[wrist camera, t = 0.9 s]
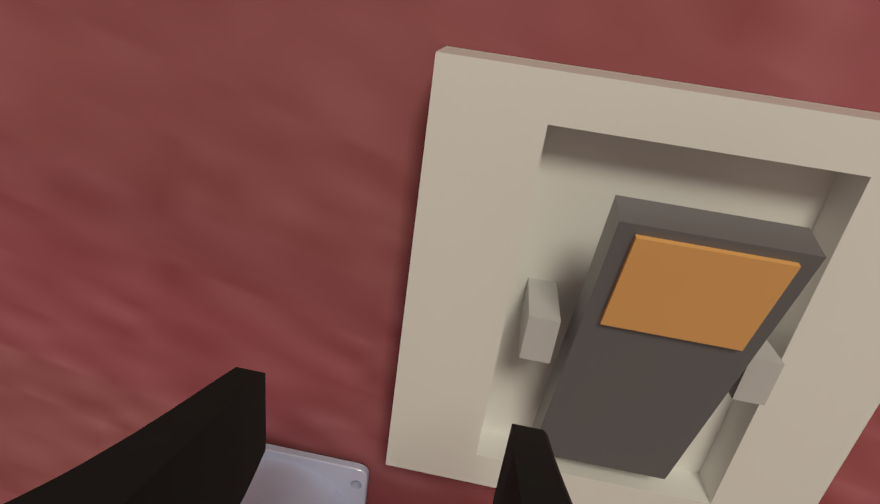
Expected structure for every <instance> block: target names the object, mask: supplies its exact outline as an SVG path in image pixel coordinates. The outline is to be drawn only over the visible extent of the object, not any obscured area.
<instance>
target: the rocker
mask: <svg viewBox="0 0 880 504" xmlns="http://www.w3.org/2000/svg"><path fill="white" fill-rule="evenodd" d="M825 259H826V255H825V254H824V252H823V250H822V249H821V247H820V245H819V243H818V242H817V240H816V238H815V236H814V235H813V233H812V231H811V230H810V228H807V227H801V226H795V225H789V224H784V223H778V222H772V221H766V220H760V219H754V218H748V217H743V216H737V215H731V214H725V213H719V212H713V211H707V210H702V209H696V208H690V207H684V206H678V205H672V204H666V203H660V202H655V201H649V200H643V199H637V198H631V197H625V196H619V195H615V198H614V201H613V204H612V206H611V209H610V212H609V215H608V217H607V220H606V223H605V226H604V228H603V231H602V234H601V237H600V240H599V242H598V245H597V248H596V251H595V253H594V256H593V259H592V262H591V264H590V267H589V270H588V273H587V276H586V278H585V281H584V284H583V287H582V289H581V292H580V295H579V298H578V300H577V303H576V306H575V309H574V312H573V314H572V317H571V320H570V323H569V325H568V328H567V331H566V334H565V337H564V339H563V342H562V345H561V348H560V350H559V353H558V356H557V359H556V361H555V364H554V367H553V370H552V373H551V375H550V378H549V381H548V384H547V386H546V389H545V392H544V395H543V397H542V400H541V403H540V406H539V409H538V411H537V414H536V417H535V420H534V422H533V428H537V429H542V430H544V431H545V432H546V434H547V435H548V437H549V441H550V444H551V447H552V450H553V453H554V456H555V457H560V458H564V459H569V460H574V461H579V462H584V463H589V464H593V465H598V466H603V467H608V468H613V469H618V470H622V471H627V472H632V473H637V474H642V475H647V476H651V477H656V478H661V479H665V478H666V477H667V476H668V474H669V473H670V472H671V470H672V469H673V467H674V466H675V465H676V463H677V462H678V461H679V459H680V458H681V456H682V455H683V454H684V452H685V451H686V450H687V448H688V447H689V445H690V444H691V443H692V441H693V440H694V439H695V437H696V436H697V434H698V433H699V432H700V430H701V429H702V428H703V426H704V425H705V424H706V422H707V421H708V419H709V418H710V417H711V415H712V414H713V413H714V411H715V410H716V408H717V407H718V406H719V404H720V403H721V402H722V400H723V399H724V397H725V396H726V395H727V393H728V392H729V391H730V389H731V388H732V386H733V385H734V384H735V382H736V381H737V380H738V378H739V377H740V375H741V374H742V373H743V371H744V370H745V369H746V367H747V366H748V364H749V363H750V362H751V360H752V359H753V358H754V356H755V355H756V354H757V352H758V351H759V349H760V348H761V347H762V345H763V344H764V343H765V341H766V340H767V338H768V337H769V336H770V334H771V333H772V332H773V330H774V329H775V327H776V326H777V325H778V323H779V322H780V321H781V319H782V318H783V316H784V315H785V314H786V312H787V311H788V310H789V308H790V307H791V305H792V304H793V303H794V301H795V300H796V299H797V297H798V296H799V295H800V293H801V292H802V290H803V289H804V288H805V286H806V285H807V284H808V282H809V281H810V279H811V278H812V277H813V275H814V274H815V273H816V271H817V270H818V268H819V267H820V266H821V264H822V263H823V262H824V260H825Z"/></svg>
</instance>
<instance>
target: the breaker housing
mask: <svg viewBox="0 0 880 504" xmlns="http://www.w3.org/2000/svg"><path fill="white" fill-rule="evenodd" d="M615 195H619V196H625V197H631V198H637V199H643V200H649V201H655V202H660V203H666V204H672V205H678V206H684V207H690V208H696V209H702V210H707V211H713V212H719V213H725V214H731V215H737V216H743V217H748V218H754V219H760V220H766V221H772V222H778V223H784V224H789V225H795V226H801V227H807V228H810V230H811V231H812V233H813V235H814V236H815V238H816V240H817V242H818V243H819V245H820V247H821V249H822V250H823V252H824V254H825V255H826V259H825V260H824V262H823V263H822V264H821V266H820V267H819V268H818V270H817V271H816V273H815V274H814V275H813V277H812V278H811V279H810V281H809V282H808V284H807V285H806V286H805V288H804V289H803V290H802V292H801V293H800V295H799V296H798V297H797V299H796V300H795V301H794V303H793V304H792V305H791V307H790V308H789V310H788V311H787V312H786V314H785V315H784V316H783V318H782V319H781V321H780V322H779V323H778V325H777V326H776V327H775V329H774V330H773V332H772V333H771V334H770V336H769V337H768V338H767V340H766V341H765V343H764V344H763V345H762V347H761V348H760V349H759V351H758V352H757V354H756V355H755V356H754V358H753V359H752V360H751V362H750V363H749V364H748V366H747V367H746V369H745V370H744V371H743V373H742V374H741V375H740V377H739V378H738V380H737V381H736V382H735V384H734V385H733V386H732V388H731V389H730V391H729V392H728V393H727V395H726V396H725V397H724V399H723V400H722V402H721V403H720V404H719V406H718V407H717V408H716V410H715V411H714V413H713V414H712V415H711V417H710V418H709V419H708V421H707V422H706V424H705V425H704V426H703V428H702V429H701V430H700V432H699V433H698V434H697V436H696V437H695V439H694V440H693V441H692V443H691V444H690V445H689V447H688V448H687V450H686V451H685V452H684V454H683V455H682V456H681V458H680V459H679V461H678V462H677V463H676V465H675V466H674V467H673V469H672V470H671V472H670V473H669V474H668V476H667V477H666V478H665V479H661V478H656V477H651V476H647V475H642V474H637V473H632V472H627V471H622V470H618V469H613V468H608V467H603V466H598V465H593V464H589V463H584V462H579V461H574V460H569V459H564V458H560V457H555V459H556V462H557V465H558V468H559V470H560V473H561V476H562V478H563V481H564V483H565V486H566V488H567V491H568V493H569V496H570V498H571V501H572V503H573V504H818V503H819V501H820V499H821V498H822V496H823V495H824V493H825V491H826V490H827V488H828V486H829V485H830V483H831V481H832V480H833V478H834V477H835V475H836V473H837V472H838V470H839V468H840V467H841V465H842V464H843V462H844V460H845V459H846V457H847V455H848V454H849V452H850V450H851V449H852V447H853V446H854V444H855V442H856V441H857V439H858V437H859V436H860V434H861V433H862V431H863V429H864V428H865V426H866V424H867V423H868V421H869V419H870V418H871V416H872V415H873V413H874V411H875V410H876V408H877V406H878V405H879V403H880V113H878V112H871V111H865V110H859V109H852V108H846V107H839V106H833V105H826V104H820V103H813V102H807V101H800V100H794V99H787V98H781V97H774V96H768V95H761V94H755V93H748V92H742V91H735V90H729V89H722V88H716V87H709V86H703V85H696V84H690V83H683V82H677V81H670V80H664V79H657V78H651V77H644V76H638V75H631V74H625V73H618V72H612V71H605V70H599V69H592V68H586V67H579V66H573V65H566V64H560V63H554V62H547V61H541V60H534V59H528V58H521V57H515V56H508V55H502V54H495V53H489V52H482V51H476V50H469V49H463V48H456V47H450V46H446V47H444V48H442V49H440V50H438V51H436V55H435V63H434V71H433V79H432V87H431V96H430V104H429V112H428V120H427V128H426V137H425V145H424V153H423V161H422V170H421V178H420V186H419V194H418V202H417V211H416V219H415V227H414V235H413V243H412V252H411V260H410V268H409V276H408V285H407V293H406V301H405V309H404V317H403V326H402V334H401V342H400V350H399V358H398V367H397V375H396V383H395V391H394V399H393V408H392V416H391V424H390V432H389V441H388V449H387V457H386V465H390V466H395V467H400V468H404V469H409V470H414V471H419V472H423V473H428V474H433V475H437V476H442V477H447V478H451V479H456V480H461V481H465V482H470V483H475V484H480V485H484V486H489V487H494V488H496V487H497V483H498V478H499V474H500V470H501V466H502V462H503V458H504V454H505V450H506V446H507V442H508V438H509V434H510V430H511V426H512V424H517V425H522V426H527V427H532V428H533V422H534V420H535V417H536V414H537V411H538V409H539V406H540V403H541V400H542V397H543V395H544V392H545V389H546V386H547V384H548V381H549V378H550V375H551V373H552V370H553V367H554V364H555V361H556V359H557V356H558V353H559V350H560V348H561V345H562V342H563V339H564V337H565V334H566V331H567V328H568V325H569V323H570V320H571V317H572V314H573V312H574V309H575V306H576V303H577V300H578V298H579V295H580V292H581V289H582V287H583V284H584V281H585V278H586V276H587V273H588V270H589V267H590V264H591V262H592V259H593V256H594V253H595V251H596V248H597V245H598V242H599V240H600V237H601V234H602V231H603V228H604V226H605V223H606V220H607V217H608V215H609V212H610V209H611V206H612V204H613V201H614V198H615Z"/></svg>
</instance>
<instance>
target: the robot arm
mask: <svg viewBox="0 0 880 504" xmlns="http://www.w3.org/2000/svg"><path fill="white" fill-rule="evenodd" d="M368 480H369V470H368V468H367V467H366V466H364V465H363V464H360V463H356V462H351V461H346V460H342V459H337V458H332V457H328V456H323V455H318V454H314V453H309V452H304V451H300V450H295V449H290V448H286V447H281V446H276V445H272V444H267V443H266V413H265V373H262V372H258V371H253V370H248V369H243V368H238V367H236V368H234V369H232V370H231V371H229V372H228V373H226V374H225V375H223V376H222V377H220V378H218V379H217V380H215V381H214V382H212V383H211V384H209V385H208V386H206V387H205V388H203V389H202V390H200V391H199V392H197V393H196V394H194V395H193V396H191V397H190V398H188V399H187V400H185V401H184V402H182V403H181V404H179V405H178V406H176V407H175V408H173V409H171V410H170V411H168V412H167V413H165V414H164V415H162V416H160V417H159V418H157V419H156V420H154V421H153V422H151V423H149V424H148V425H146V426H145V427H143V428H142V429H140V430H138V431H137V432H135V433H134V434H132V435H130V436H129V437H127V438H125V439H124V440H122V441H120V442H118V443H117V444H115V445H113V446H112V447H110V448H108V449H106V450H105V451H103V452H101V453H100V454H98V455H96V456H95V457H93V458H91V459H89V460H88V461H86V462H84V463H83V464H81V465H79V466H77V467H75V468H73V469H72V470H70V471H68V472H66V473H64V474H62V475H60V476H58V477H57V478H55V479H53V480H51V481H49V482H47V483H45V484H43V485H41V486H39V487H37V488H35V489H33V490H31V491H29V492H27V493H25V494H23V495H21V496H19V497H17V498H15V499H13V500H11V501H9V502H7V503H4V504H366V499H367V490H368ZM357 481H358V482H357ZM493 504H573V503H572V501H571V498H570V496H569V493H568V491H567V488H566V486H565V483H564V481H563V478H562V476H561V473H560V470H559V468H558V465H557V462H556V459H555V456H554V453H553V450H552V447H551V444H550V441H549V437H548V435H547V434H546V432H545V431H544V430H542V429H537V428H532V427H527V426H522V425H517V424H512V426H511V430H510V434H509V438H508V442H507V446H506V450H505V454H504V458H503V462H502V466H501V470H500V474H499V478H498V483H497V487H496V491H495V495H494V499H493Z"/></svg>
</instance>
